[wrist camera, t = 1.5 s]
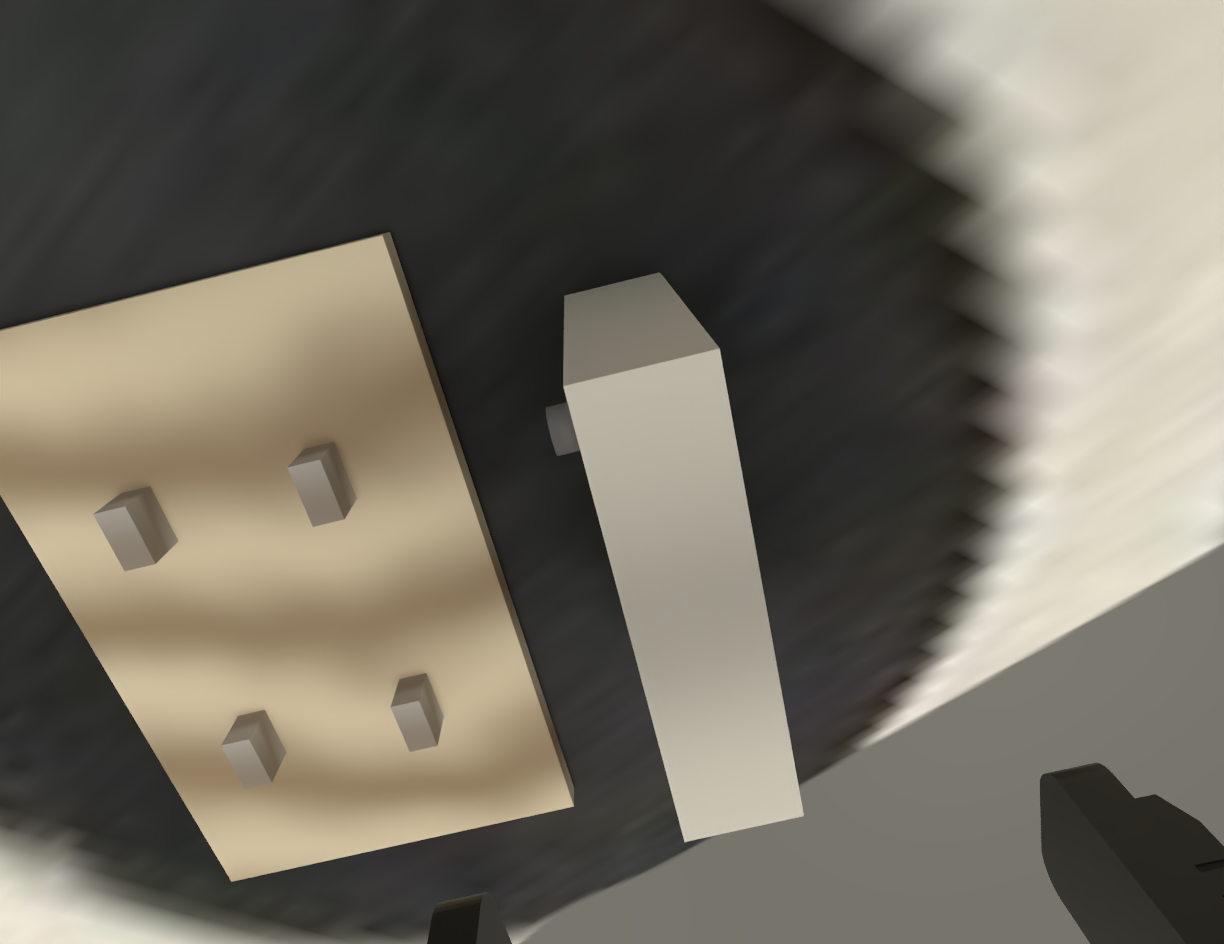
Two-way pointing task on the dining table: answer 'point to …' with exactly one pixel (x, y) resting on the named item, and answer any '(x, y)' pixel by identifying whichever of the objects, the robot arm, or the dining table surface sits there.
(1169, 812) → the robot arm
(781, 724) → the door panel
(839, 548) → the dining table surface
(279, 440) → the light brown flat board
